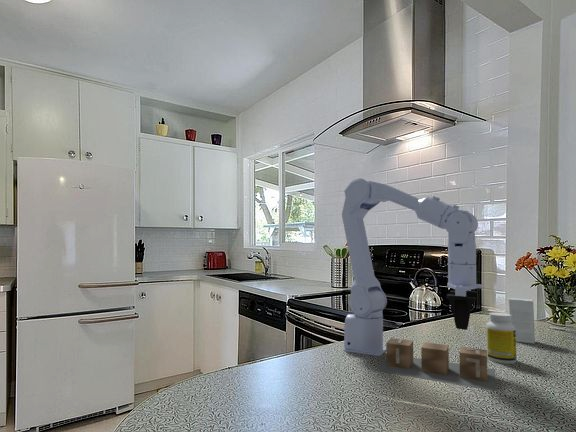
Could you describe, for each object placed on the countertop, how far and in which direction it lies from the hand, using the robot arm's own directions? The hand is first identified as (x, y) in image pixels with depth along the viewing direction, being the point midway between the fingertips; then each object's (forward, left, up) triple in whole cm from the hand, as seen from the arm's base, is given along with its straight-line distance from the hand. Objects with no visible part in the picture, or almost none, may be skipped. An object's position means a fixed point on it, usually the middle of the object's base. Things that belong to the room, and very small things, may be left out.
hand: (462, 325), depth 85 cm
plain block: (-5, -4, -9) cm, 11 cm away
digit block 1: (-13, -4, -9) cm, 16 cm away
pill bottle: (+8, +12, -10) cm, 17 cm away
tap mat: (-5, -4, -10) cm, 12 cm away
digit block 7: (+2, -4, -9) cm, 10 cm away
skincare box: (+14, +37, -10) cm, 41 cm away
